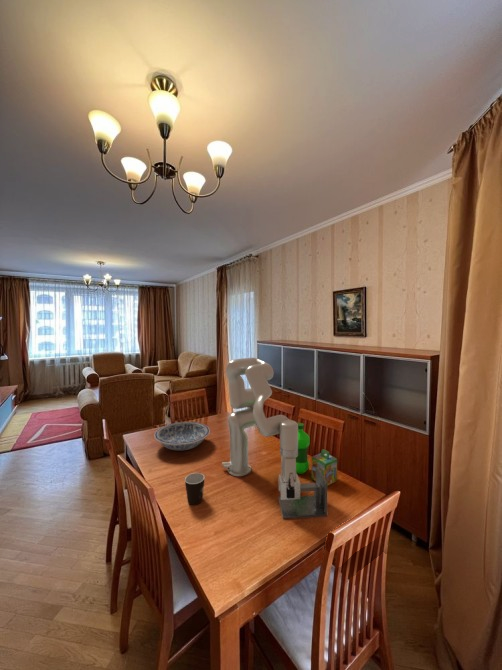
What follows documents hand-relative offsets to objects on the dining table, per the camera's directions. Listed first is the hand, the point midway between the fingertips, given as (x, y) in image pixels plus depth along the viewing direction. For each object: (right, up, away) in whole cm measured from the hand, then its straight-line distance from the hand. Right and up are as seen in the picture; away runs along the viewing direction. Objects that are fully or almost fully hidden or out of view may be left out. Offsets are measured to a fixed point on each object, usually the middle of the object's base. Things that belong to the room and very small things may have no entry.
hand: (289, 492), depth 113 cm
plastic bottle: (+10, -6, +29) cm, 31 cm away
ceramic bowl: (-60, -5, +59) cm, 84 cm away
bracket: (+5, -7, +1) cm, 9 cm away
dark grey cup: (-40, -7, +7) cm, 41 cm away
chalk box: (+20, -6, +20) cm, 29 cm away
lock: (0, -1, 0) cm, 1 cm away
